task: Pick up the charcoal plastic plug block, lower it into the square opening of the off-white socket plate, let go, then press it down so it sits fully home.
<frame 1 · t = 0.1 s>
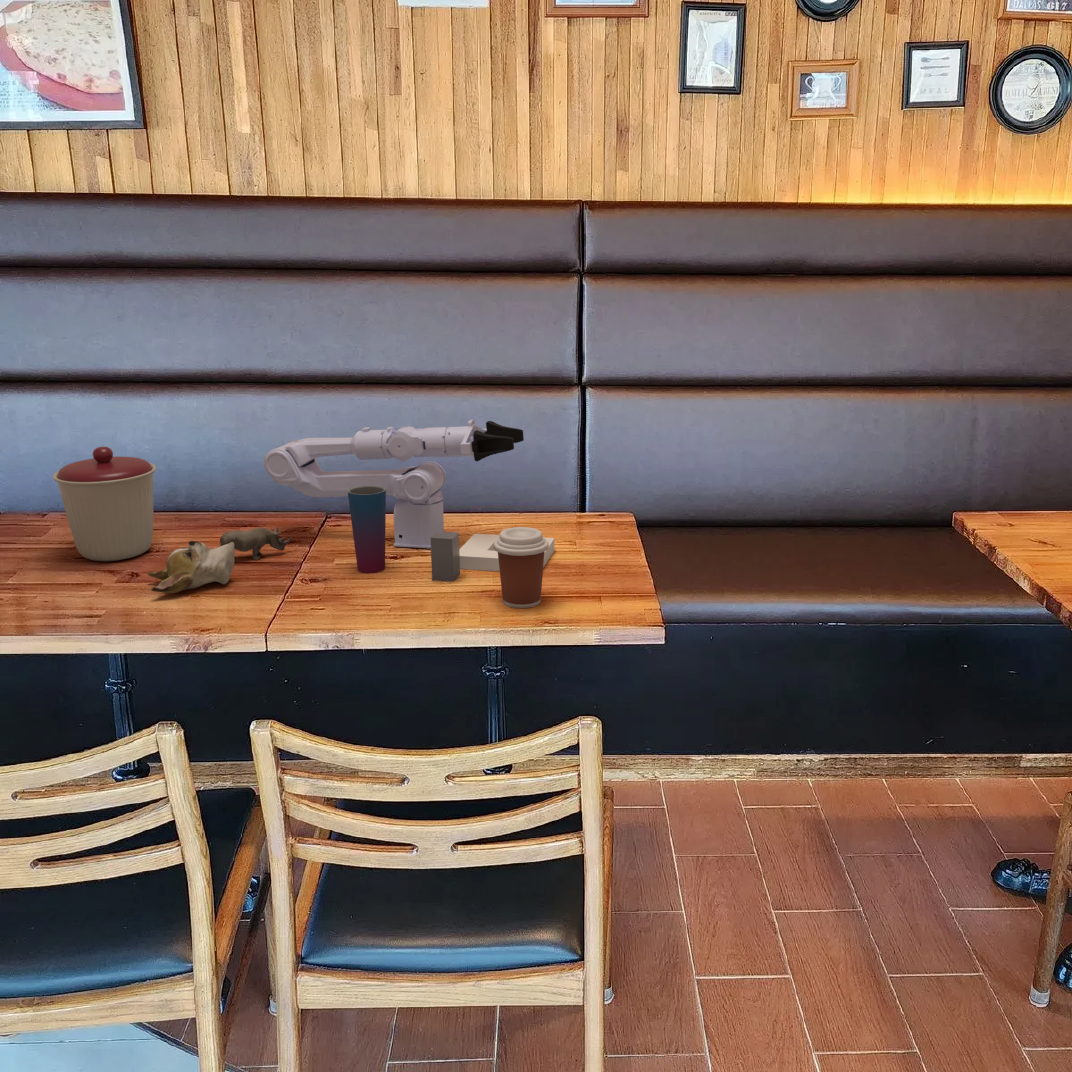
hand: (518, 439, 190), 22 cm above the table, fingers open, 7 cm apart
cup: (371, 569, 186), on the table
rhino figurine: (256, 558, 192), on the table
ceramic sculpture: (195, 588, 177), on the table
socket plate: (505, 559, 190), on the table
canister: (116, 554, 195), on the table
plug: (446, 577, 181), on the table
coffee cup: (521, 602, 169), on the table
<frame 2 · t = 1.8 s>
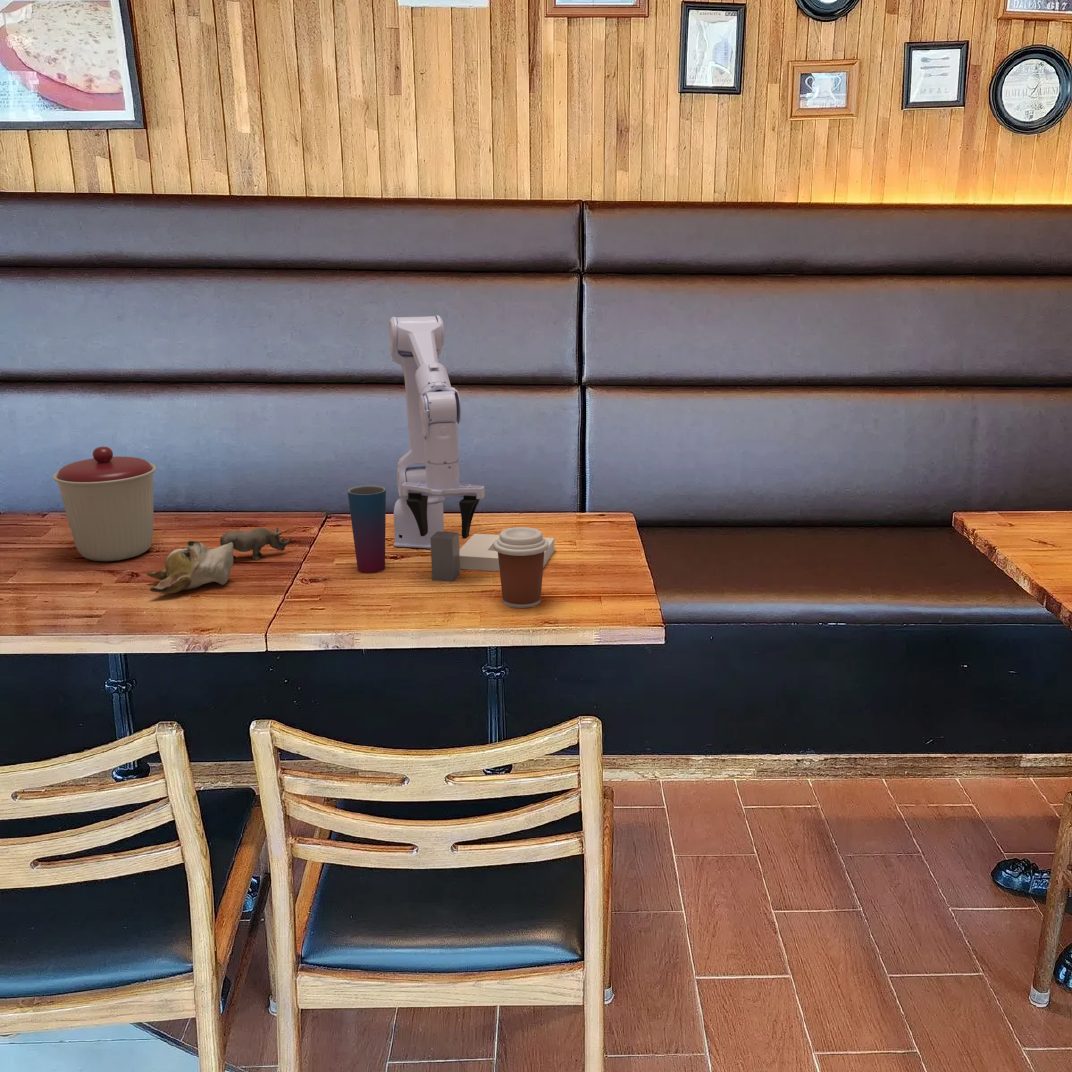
hand: (444, 535, 178), 8 cm above the table, fingers open, 7 cm apart
nothing on the table moved.
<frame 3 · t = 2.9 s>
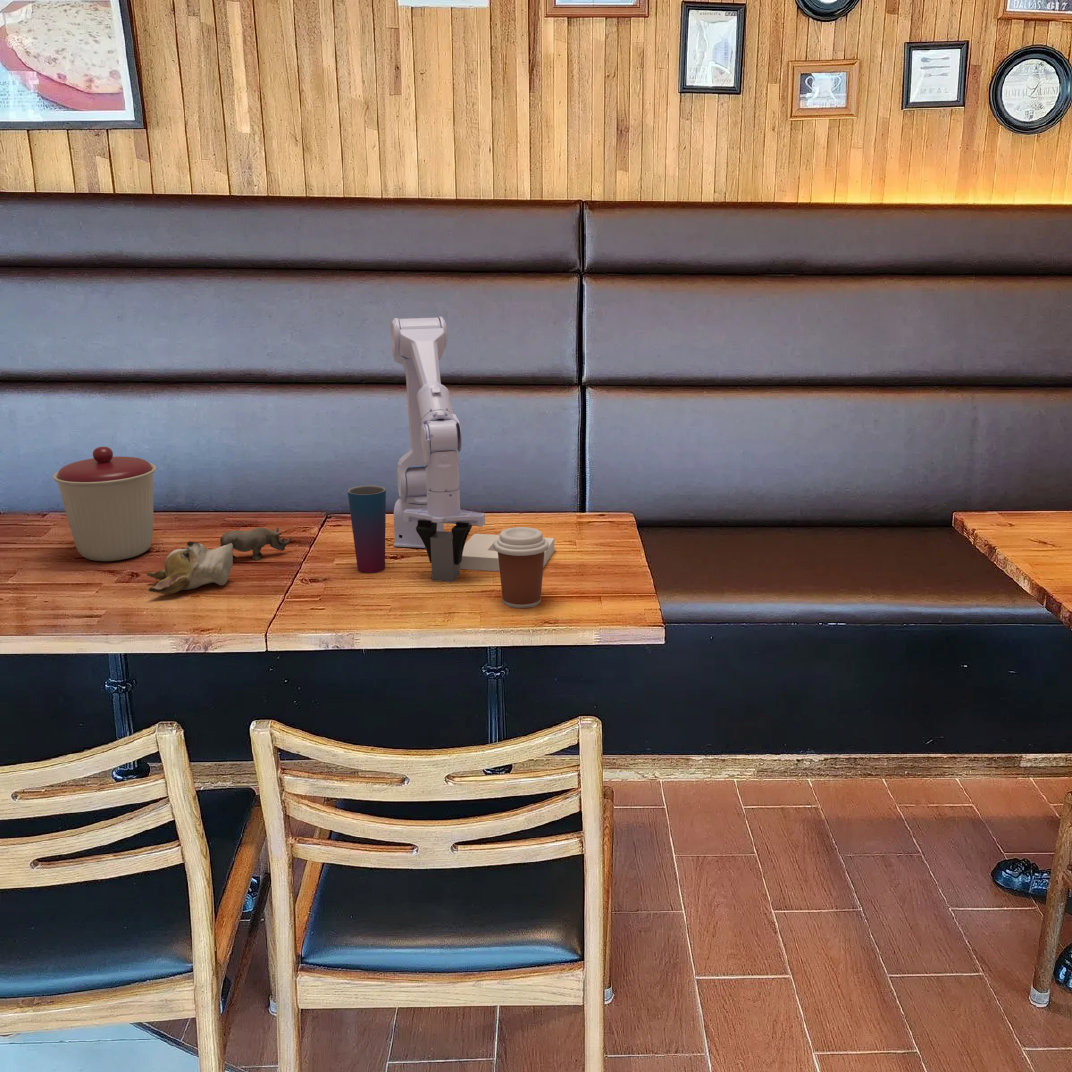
hand: (445, 562, 180), 3 cm above the table, fingers closed on plug, 4 cm apart
plug: (446, 577, 181), on the table, touching gripper
everything else where it was.
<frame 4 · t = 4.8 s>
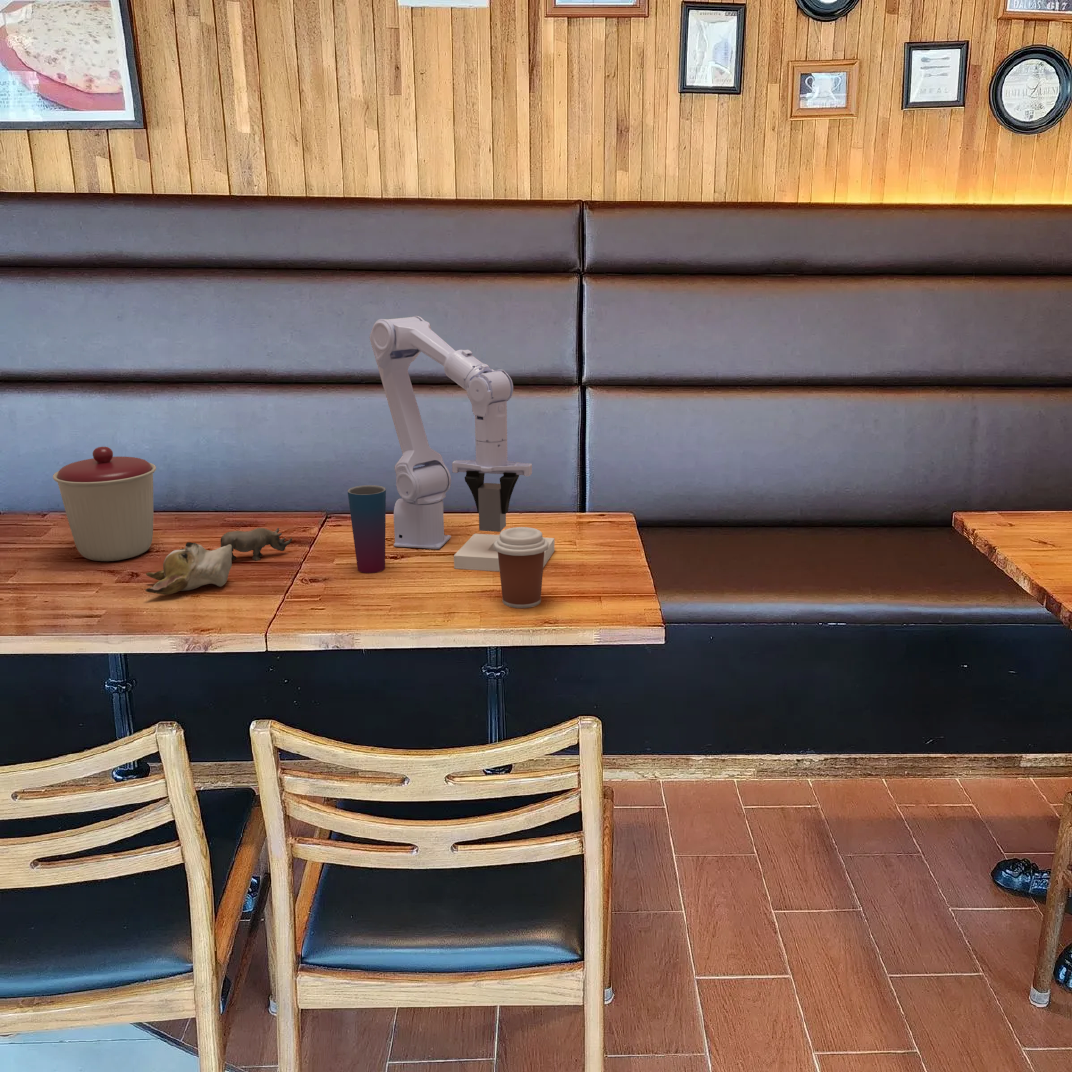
hand: (492, 511, 185), 10 cm above the table, fingers closed on plug, 4 cm apart
plug: (492, 528, 186), point 7 cm above the table, touching gripper
when the fingers open (4 cm above the table, at t = 6.8 s): plug drops 1 cm, resting on socket plate.
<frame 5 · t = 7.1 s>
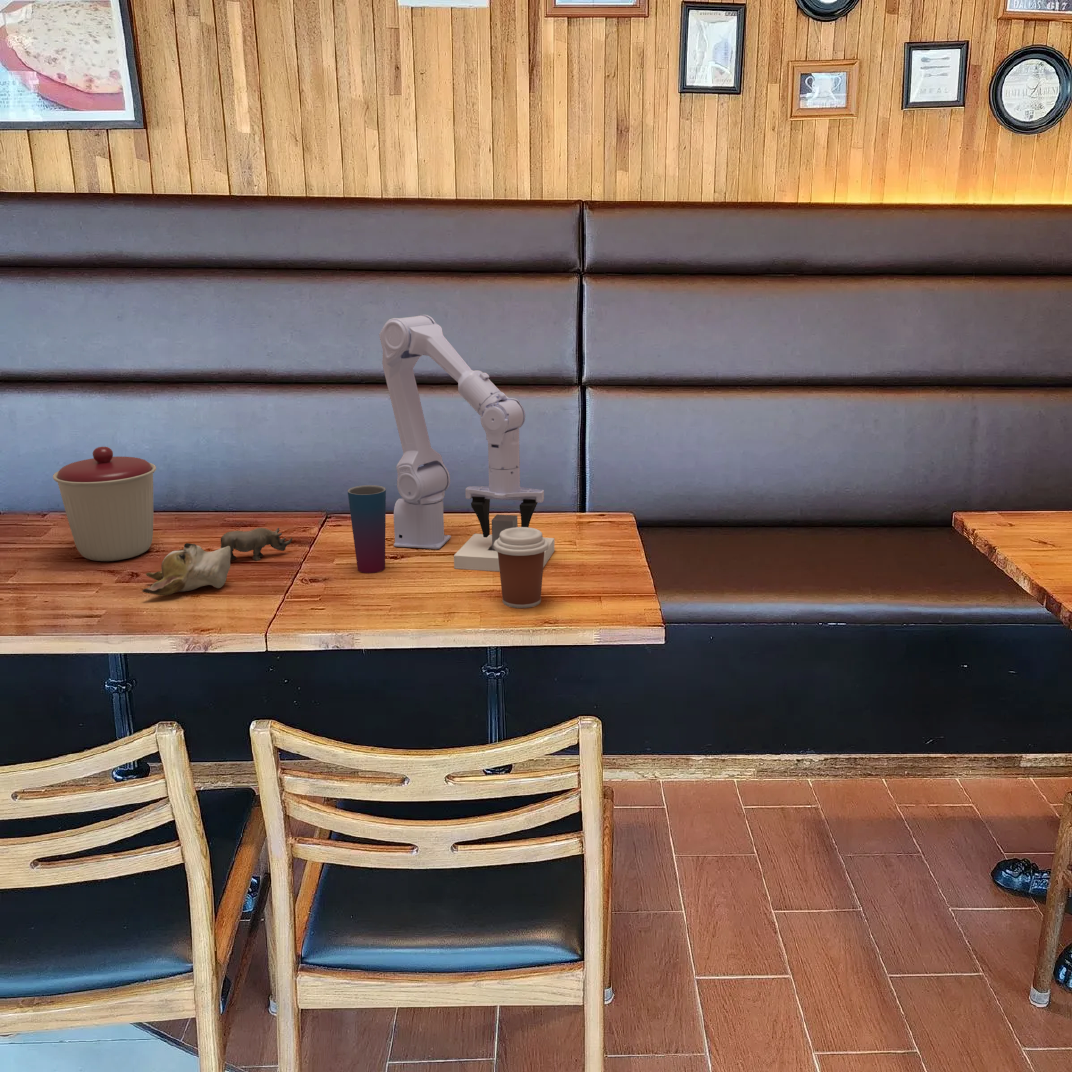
hand: (505, 537, 189), 4 cm above the table, fingers open, 7 cm apart
plug: (505, 558, 190), resting on socket plate
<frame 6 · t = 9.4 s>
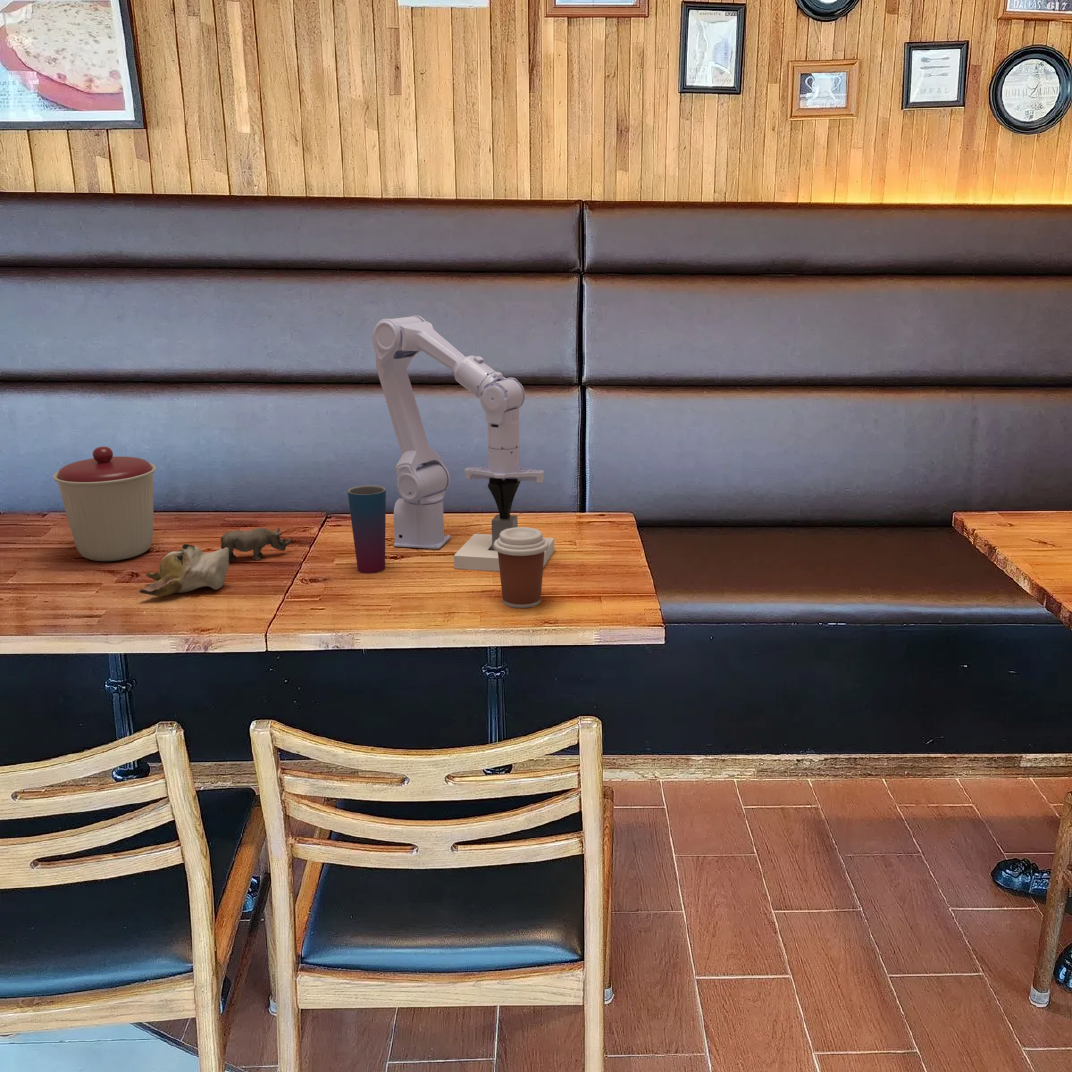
hand: (505, 517, 188), 8 cm above the table, fingers closed, pressing on plug
plug: (505, 558, 190), resting on socket plate, touching gripper
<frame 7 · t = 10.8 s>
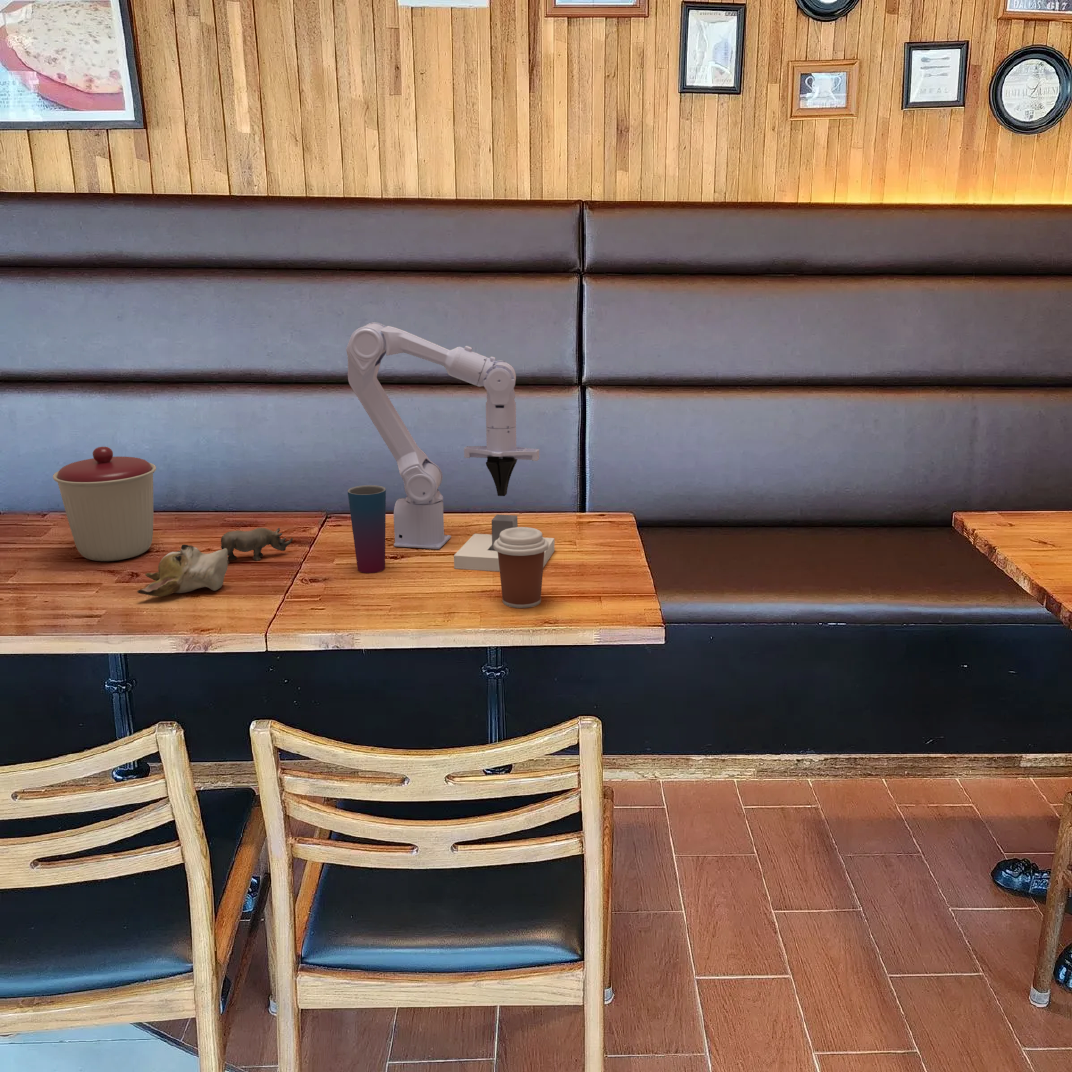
hand: (502, 494, 197), 10 cm above the table, fingers closed
plug: (505, 558, 190), resting on socket plate
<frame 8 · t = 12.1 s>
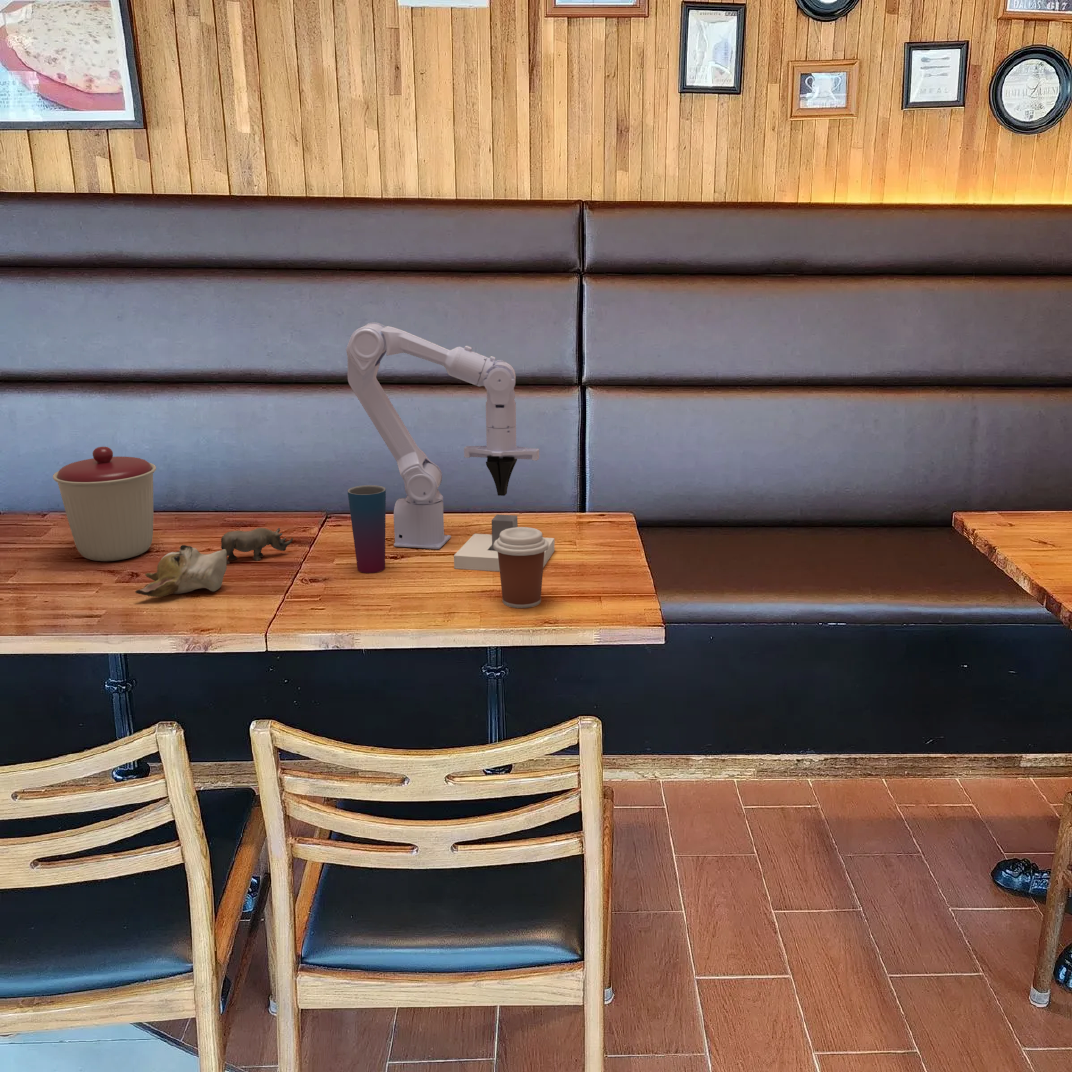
hand: (502, 494, 197), 10 cm above the table, fingers closed
at the end: plug 0.2 cm off-centre on the socket plate, point 0.2 cm above the socket plate's base; plug tilted 0°; the gripper is holding nothing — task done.
